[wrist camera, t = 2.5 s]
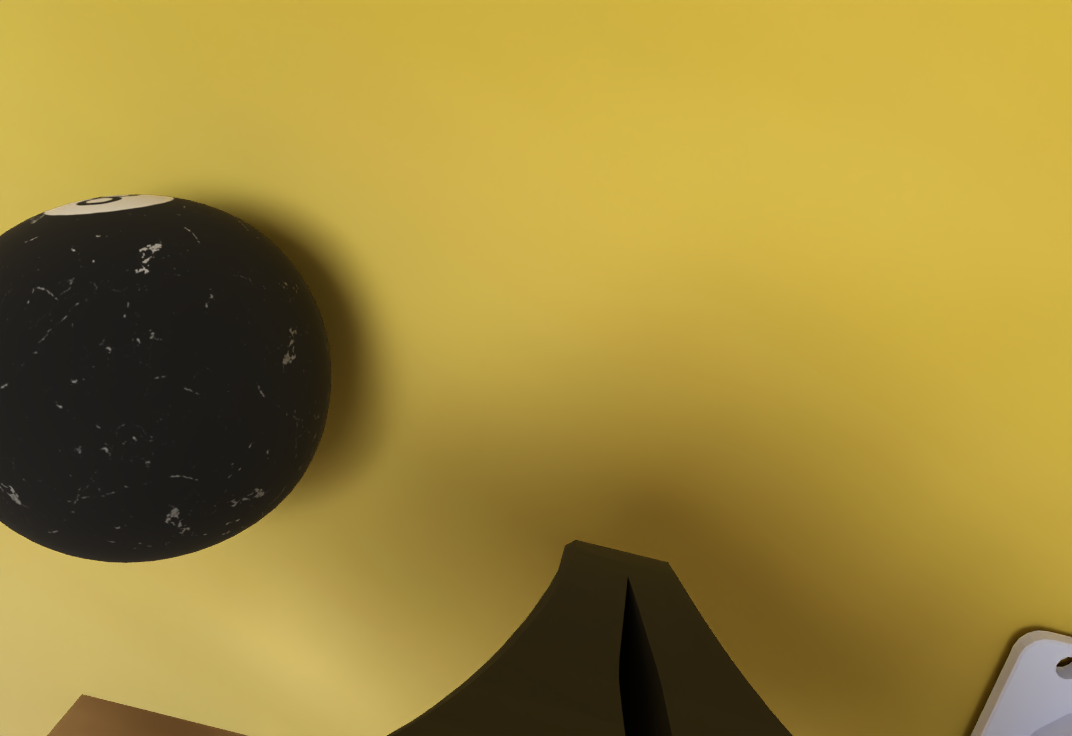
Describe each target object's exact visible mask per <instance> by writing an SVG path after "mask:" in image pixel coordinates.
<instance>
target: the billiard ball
mask: <svg viewBox="0 0 1072 736" xmlns="http://www.w3.org/2000/svg"><path fill="white" fill-rule="evenodd" d="M330 390H331V362H330V352H329V345H328V340H327V335H326V331H325V328H324V324H323V321H322V318H321V315H320V312H319V310H318V307H317V305H316V302H315V300H314V298H313V296H312V294H311V292H310V290H309V288H308V286H307V284H306V283H305V281H304V280H303V278H302V276H301V275H300V273H299V272H298V270H297V269H296V268H295V266H294V265H293V264H292V262H291V261H290V260H289V259H288V258H287V256H286V255H285V254H284V253H283V252H282V251H281V250H280V249H279V248H278V247H277V246H276V245H275V244H274V243H273V242H272V241H271V240H269V239H268V238H267V237H266V236H265V235H263V234H262V233H261V232H259V231H258V230H257V229H255V228H254V227H252V226H251V225H249V224H247V223H246V222H244V221H242V220H241V219H239V218H237V217H234V216H232V215H230V214H228V213H226V212H224V211H221V210H219V209H216V208H213V207H210V206H208V205H205V204H201V203H197V202H194V201H190V200H185V199H179V198H173V197H167V196H158V195H115V196H106V197H98V198H92V199H87V200H83V201H78V202H73V203H70V204H67V205H63V206H60V207H57V208H54V209H51V210H48V211H45V212H43V213H41V214H38V215H36V216H34V217H32V218H29V219H28V220H26V221H24V222H22V223H20V224H18V225H17V226H15V227H13V228H12V229H10V230H8V231H6V232H5V233H4V234H2V235H1V236H0V521H1V522H2V523H3V524H5V525H6V526H8V527H9V528H10V529H12V530H13V531H15V532H17V533H18V534H20V535H22V536H24V537H26V538H27V539H29V540H31V541H33V542H35V543H37V544H40V545H42V546H44V547H47V548H49V549H52V550H55V551H58V552H61V553H64V554H67V555H71V556H75V557H80V558H84V559H90V560H97V561H105V562H123V563H128V562H145V561H156V560H162V559H168V558H173V557H177V556H181V555H185V554H189V553H193V552H196V551H199V550H202V549H205V548H207V547H210V546H213V545H215V544H218V543H220V542H222V541H224V540H226V539H229V538H231V537H233V536H235V535H237V534H238V533H240V532H242V531H243V530H245V529H247V528H248V527H250V526H252V525H253V524H255V523H256V522H258V521H259V520H260V519H262V518H263V517H264V516H265V515H267V514H268V513H269V512H271V511H272V510H273V509H274V508H276V507H277V506H278V505H279V504H280V503H281V502H282V501H283V500H284V499H285V498H286V496H287V495H288V494H289V493H290V492H291V491H292V490H293V488H294V487H295V486H296V484H297V483H298V482H299V480H300V479H301V478H302V476H303V474H304V473H305V471H306V469H307V468H308V466H309V464H310V462H311V461H312V459H313V456H314V454H315V452H316V449H317V447H318V444H319V442H320V439H321V437H322V433H323V430H324V426H325V423H326V418H327V413H328V407H329V402H330Z"/></svg>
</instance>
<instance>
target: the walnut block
mask: <svg viewBox="0 0 1072 736" xmlns="http://www.w3.org/2000/svg"><path fill="white" fill-rule="evenodd" d="M47 736H247V735H243V734H239V733H235V732H231V731H227V730H223V729H219V728H215V727H211V726H207V725H203V724H199V723H195V722H191V721H187V720H183V719H179V718H175V717H171V716H167V715H163V714H159V713H155V712H151V711H147V710H143V709H139V708H135V707H131V706H127V705H123V704H119V703H115V702H111V701H107V700H103V699H99V698H95V697H91V696H87V695H83V694H82V695H81V696H80V697H79V699H78V700H77V701H76V702H75V703H74V705H73V706H72V707H71V708H70V709H69V710H68V712H67V713H66V714H65V715H64V716H63V718H62V719H61V720H60V721H59V722H58V723H57V725H56V726H55V727H54V728H53V729H52V731H51V732H50V733H49V734H48V735H47Z"/></svg>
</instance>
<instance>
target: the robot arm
mask: <svg viewBox="0 0 1072 736" xmlns="http://www.w3.org/2000/svg"><path fill="white" fill-rule="evenodd" d="M1067 657H1072V637H1070V636H1065V635H1061V634H1057V633H1053V632H1049V631H1039V630H1037V631H1033V632H1029V633H1027V634H1025V635H1023V636H1022V637H1020V638H1019V639H1018V640H1017V642H1016V643H1015V644H1014V646H1013V648H1012V650H1011V652H1010V654H1009V656H1008V658H1007V660H1006V663H1005V665H1004V667H1003V669H1002V671H1001V673H1000V675H999V677H998V679H997V681H996V684H995V686H994V688H993V690H992V692H991V694H990V696H989V698H988V700H987V703H986V705H985V707H984V709H983V711H982V713H981V715H980V717H979V719H978V721H977V724H976V726H975V728H974V730H973V732H972V734H971V736H1072V662H1071V663H1070V664H1068V665H1066V666H1063V667H1056V665H1057V664H1058V663H1059V662H1060V660H1062V659H1064V658H1067ZM387 736H792V734H791V733H790V732H789V731H788V730H787V729H786V728H785V727H784V725H783V724H782V723H781V722H780V721H779V720H778V719H777V717H776V716H775V715H774V714H773V713H772V711H771V710H770V709H769V708H768V706H767V705H766V704H765V703H764V701H763V700H762V699H761V698H760V696H759V695H758V694H757V693H756V691H755V690H754V689H753V688H752V686H751V685H750V684H749V683H748V681H747V680H746V679H745V677H744V676H743V675H742V673H741V672H740V671H739V669H738V668H737V667H736V665H735V664H734V663H733V661H732V660H731V658H730V657H729V656H728V654H727V653H726V651H725V650H724V649H723V647H722V646H721V644H720V643H719V641H718V640H717V638H716V637H715V635H714V634H713V632H712V631H711V629H710V628H709V626H708V625H707V623H706V622H705V620H704V619H703V617H702V616H701V614H700V613H699V611H698V609H697V608H696V606H695V605H694V603H693V602H692V600H691V598H690V597H689V595H688V594H687V592H686V590H685V589H684V587H683V586H682V584H681V582H680V581H679V579H678V577H677V576H676V574H675V573H674V571H673V570H672V568H671V567H670V565H669V564H668V562H664V561H660V560H655V559H651V558H647V557H643V556H639V555H635V554H631V553H627V552H623V551H619V550H614V549H610V548H606V547H602V546H598V545H594V544H590V543H586V542H582V541H577V540H575V541H573V542H571V543H569V544H567V545H565V548H564V552H563V555H562V559H561V563H560V566H559V569H558V572H557V573H556V575H555V577H554V579H553V581H552V582H551V584H550V586H549V587H548V589H547V590H546V592H545V593H544V595H543V596H542V598H541V599H540V600H539V602H538V603H537V605H536V606H535V608H534V609H533V611H532V612H531V613H530V615H529V616H528V617H527V618H526V620H525V621H524V622H523V623H522V624H521V625H520V627H519V628H518V629H517V630H516V631H515V632H514V634H513V635H512V636H511V637H510V638H509V639H508V640H507V642H506V643H505V644H504V645H503V646H502V647H501V648H500V649H499V650H498V651H497V652H496V653H495V654H494V655H493V656H492V657H491V658H490V659H489V660H488V661H487V662H486V663H485V664H484V665H483V666H482V667H481V668H480V669H479V670H478V671H477V672H475V673H474V674H473V675H472V676H471V677H470V678H469V679H468V680H467V681H465V682H464V683H463V684H462V685H461V686H459V687H458V688H457V689H455V690H454V691H453V692H452V693H450V694H449V695H448V696H446V697H445V698H444V699H442V700H441V701H440V702H439V703H437V704H436V705H435V706H433V707H432V708H431V709H429V710H428V711H426V712H425V713H423V714H422V715H420V716H419V717H417V718H416V719H414V720H413V721H411V722H410V723H408V724H406V725H404V726H403V727H401V728H399V729H398V730H396V731H394V732H392V733H391V734H389V735H387Z"/></svg>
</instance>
